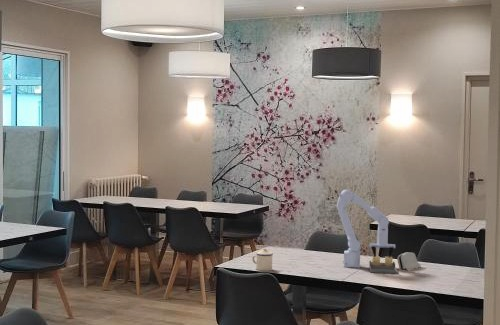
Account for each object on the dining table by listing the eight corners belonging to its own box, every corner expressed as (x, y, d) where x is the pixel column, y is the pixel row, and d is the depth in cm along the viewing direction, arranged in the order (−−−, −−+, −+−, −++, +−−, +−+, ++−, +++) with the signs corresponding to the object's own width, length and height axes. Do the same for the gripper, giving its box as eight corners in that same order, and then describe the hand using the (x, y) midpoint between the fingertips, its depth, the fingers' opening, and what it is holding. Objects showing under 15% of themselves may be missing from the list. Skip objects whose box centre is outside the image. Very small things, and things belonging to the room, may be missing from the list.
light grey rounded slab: (407, 270, 376) (402, 253, 378) (400, 272, 379) (395, 255, 381) (421, 266, 388) (416, 250, 390) (414, 268, 391) (409, 251, 393)
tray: (370, 272, 367) (370, 269, 367) (369, 269, 377) (369, 265, 377) (396, 273, 365) (396, 270, 365) (395, 270, 375) (395, 267, 375)
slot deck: (369, 269, 378) (369, 263, 377) (369, 266, 386) (369, 260, 386) (395, 270, 375) (395, 264, 375) (394, 267, 384) (394, 261, 384)
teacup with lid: (275, 269, 372) (275, 248, 372) (267, 271, 364) (268, 250, 364) (256, 266, 378) (256, 246, 378) (248, 269, 370) (248, 248, 370)
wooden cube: (372, 264, 380) (372, 257, 380) (372, 262, 384) (372, 255, 383) (379, 264, 379) (380, 257, 379) (379, 263, 383) (379, 256, 383)
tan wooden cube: (385, 264, 379) (385, 257, 379) (384, 263, 383) (384, 256, 383) (392, 265, 378) (392, 257, 378) (391, 263, 382) (392, 256, 382)
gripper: (395, 236, 387) (394, 259, 387) (369, 235, 389) (368, 258, 389) (395, 237, 380) (395, 261, 380) (369, 236, 382) (369, 260, 382)
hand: (382, 260), depth 384 cm, fingers open, 7 cm apart
